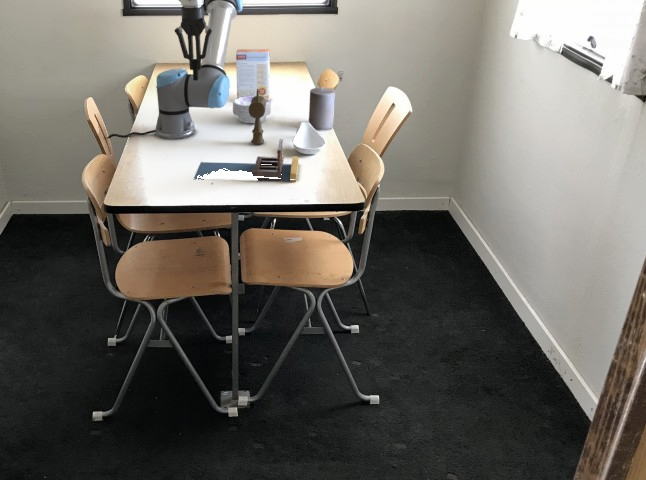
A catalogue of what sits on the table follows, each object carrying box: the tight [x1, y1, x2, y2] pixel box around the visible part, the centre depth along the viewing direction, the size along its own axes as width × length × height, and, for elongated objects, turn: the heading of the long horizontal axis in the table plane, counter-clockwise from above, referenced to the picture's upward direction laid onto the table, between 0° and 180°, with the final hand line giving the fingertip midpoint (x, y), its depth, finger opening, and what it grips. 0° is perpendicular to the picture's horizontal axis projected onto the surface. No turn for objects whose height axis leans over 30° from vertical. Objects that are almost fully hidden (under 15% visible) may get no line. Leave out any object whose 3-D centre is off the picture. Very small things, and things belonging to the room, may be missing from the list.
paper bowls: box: [232, 96, 272, 124], centre depth 285 cm, size 15×15×8 cm
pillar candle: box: [308, 86, 336, 131], centre depth 275 cm, size 10×10×15 cm
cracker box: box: [235, 48, 271, 100], centre depth 305 cm, size 14×6×21 cm, turn 84°
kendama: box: [249, 89, 266, 146], centre depth 258 cm, size 6×10×20 cm, turn 175°
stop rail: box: [289, 156, 300, 183], centre depth 237 cm, size 2×16×3 cm, turn 174°
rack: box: [253, 138, 285, 181], centre depth 236 cm, size 9×14×10 cm, turn 173°
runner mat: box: [193, 161, 299, 183], centre depth 240 cm, size 34×16×1 cm, turn 84°
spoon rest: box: [292, 121, 327, 156], centre depth 258 cm, size 24×12×7 cm, turn 5°
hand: (196, 79), depth 247 cm, fingers closed
